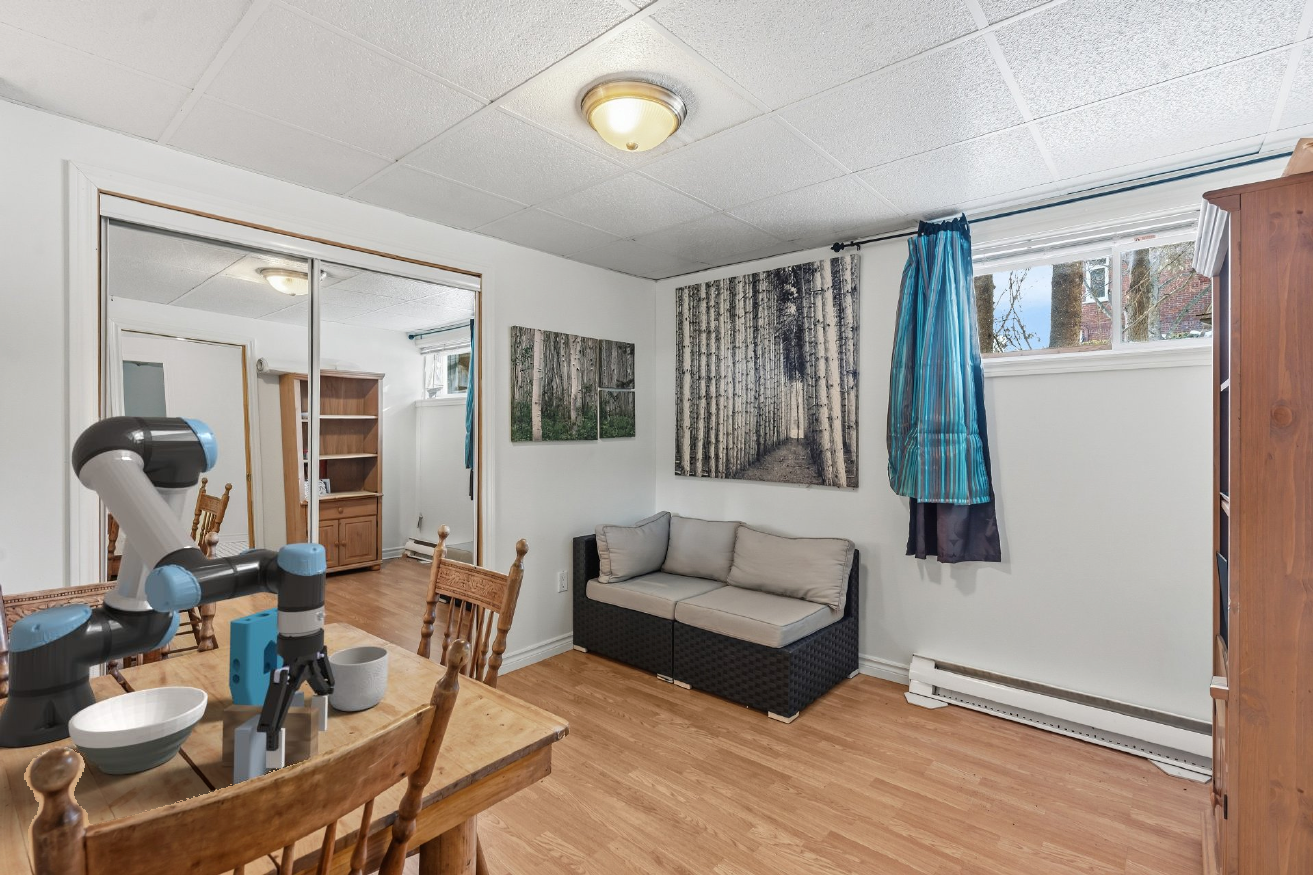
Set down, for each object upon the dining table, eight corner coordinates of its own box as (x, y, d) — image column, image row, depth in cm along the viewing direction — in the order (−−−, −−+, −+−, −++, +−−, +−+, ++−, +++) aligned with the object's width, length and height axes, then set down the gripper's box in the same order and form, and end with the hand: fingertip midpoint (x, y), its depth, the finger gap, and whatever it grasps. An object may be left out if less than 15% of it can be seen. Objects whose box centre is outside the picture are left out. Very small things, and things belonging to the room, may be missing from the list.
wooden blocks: (221, 766, 113) (223, 710, 113) (231, 758, 116) (232, 704, 116) (310, 768, 113) (311, 713, 113) (317, 761, 116) (318, 707, 115)
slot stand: (248, 788, 106) (249, 729, 106) (233, 788, 106) (234, 729, 106) (303, 742, 122) (304, 691, 122) (290, 742, 122) (291, 690, 122)
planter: (317, 703, 140) (318, 654, 140) (373, 687, 149) (374, 641, 149) (339, 721, 132) (340, 669, 132) (397, 703, 141) (398, 655, 141)
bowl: (41, 774, 109) (42, 719, 109) (163, 726, 127) (164, 679, 127) (111, 800, 102) (112, 742, 102) (230, 746, 120) (231, 696, 120)
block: (244, 719, 131) (247, 624, 131) (226, 716, 133) (228, 621, 132) (292, 697, 143) (293, 609, 143) (274, 694, 144) (276, 606, 144)
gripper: (279, 654, 102) (276, 786, 102) (355, 611, 127) (353, 717, 127) (233, 653, 102) (230, 784, 102) (318, 610, 127) (316, 715, 127)
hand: (298, 747), depth 114 cm, fingers open, 13 cm apart
